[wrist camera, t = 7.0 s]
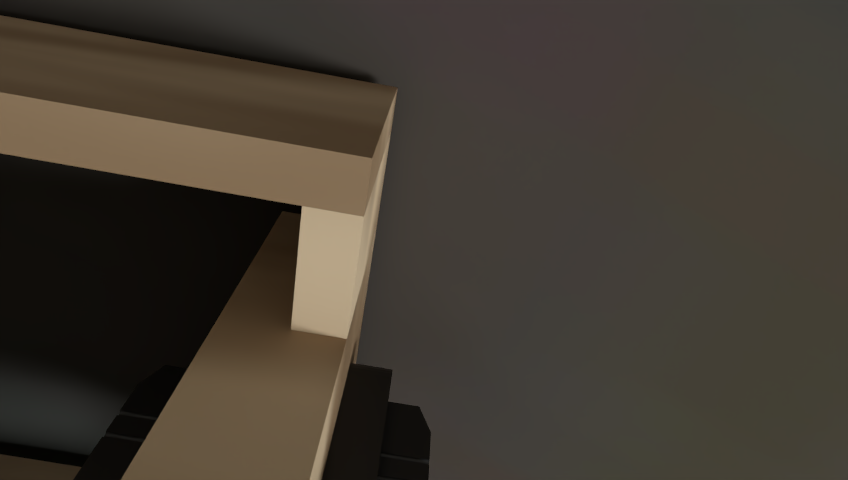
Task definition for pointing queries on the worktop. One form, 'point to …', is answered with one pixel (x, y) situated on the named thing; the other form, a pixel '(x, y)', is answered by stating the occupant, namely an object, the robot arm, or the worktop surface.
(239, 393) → the wooden caddy
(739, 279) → the worktop surface
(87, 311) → the worktop surface
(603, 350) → the worktop surface
